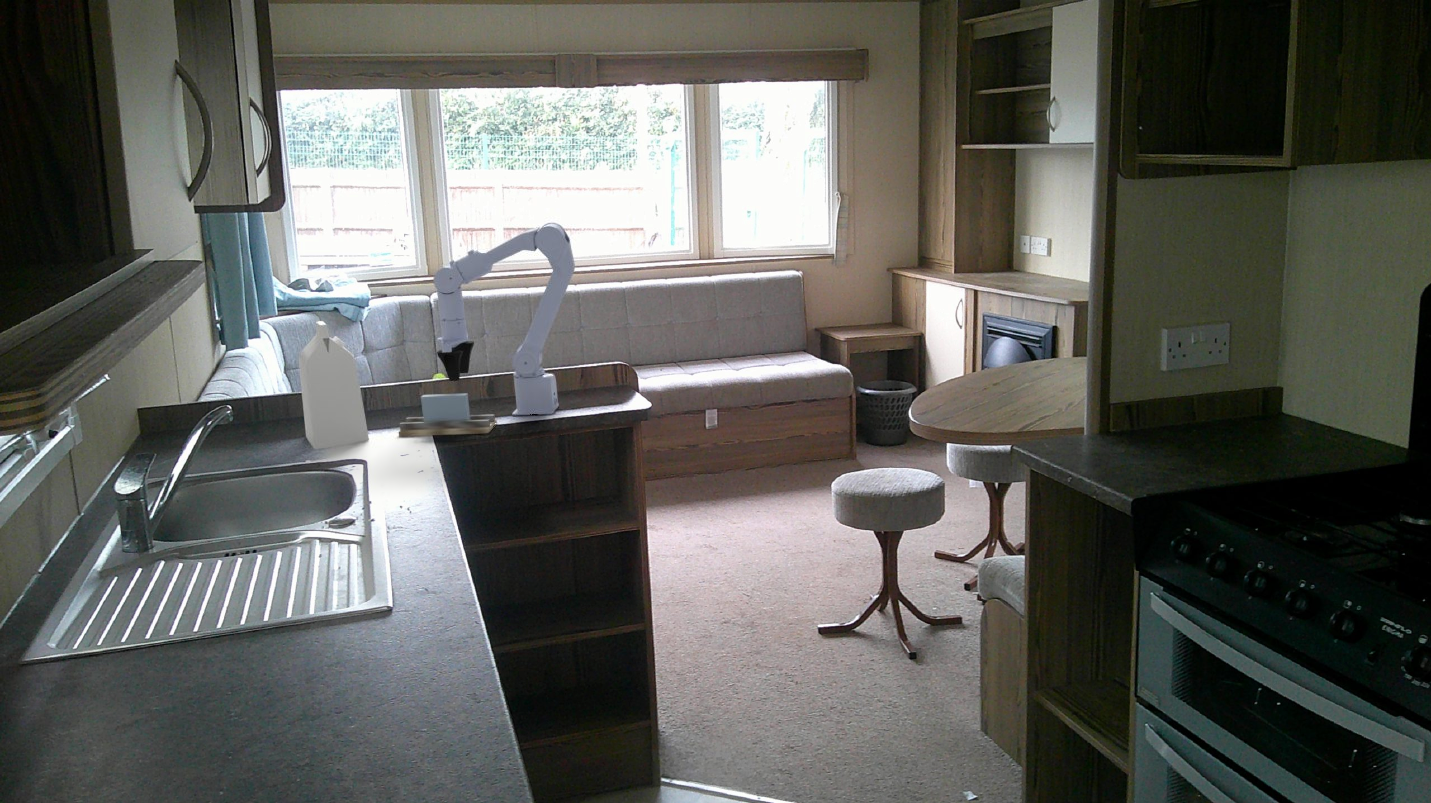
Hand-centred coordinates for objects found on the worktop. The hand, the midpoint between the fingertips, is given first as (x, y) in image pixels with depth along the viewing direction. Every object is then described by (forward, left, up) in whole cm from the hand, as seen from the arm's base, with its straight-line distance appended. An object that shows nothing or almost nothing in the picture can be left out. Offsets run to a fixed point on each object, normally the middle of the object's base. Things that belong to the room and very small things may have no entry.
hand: (459, 376), depth 264 cm
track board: (0, +12, -9) cm, 15 cm away
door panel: (0, +12, -8) cm, 15 cm away
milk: (+24, +16, -10) cm, 30 cm away
